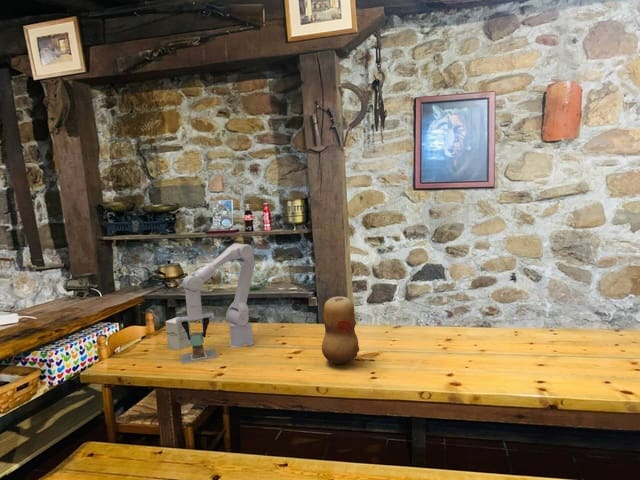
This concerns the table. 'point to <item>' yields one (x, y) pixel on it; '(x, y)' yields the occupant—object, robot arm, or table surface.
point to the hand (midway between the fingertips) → (196, 337)
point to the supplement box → (177, 335)
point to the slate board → (189, 358)
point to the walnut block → (198, 351)
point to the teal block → (196, 339)
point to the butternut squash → (339, 331)
